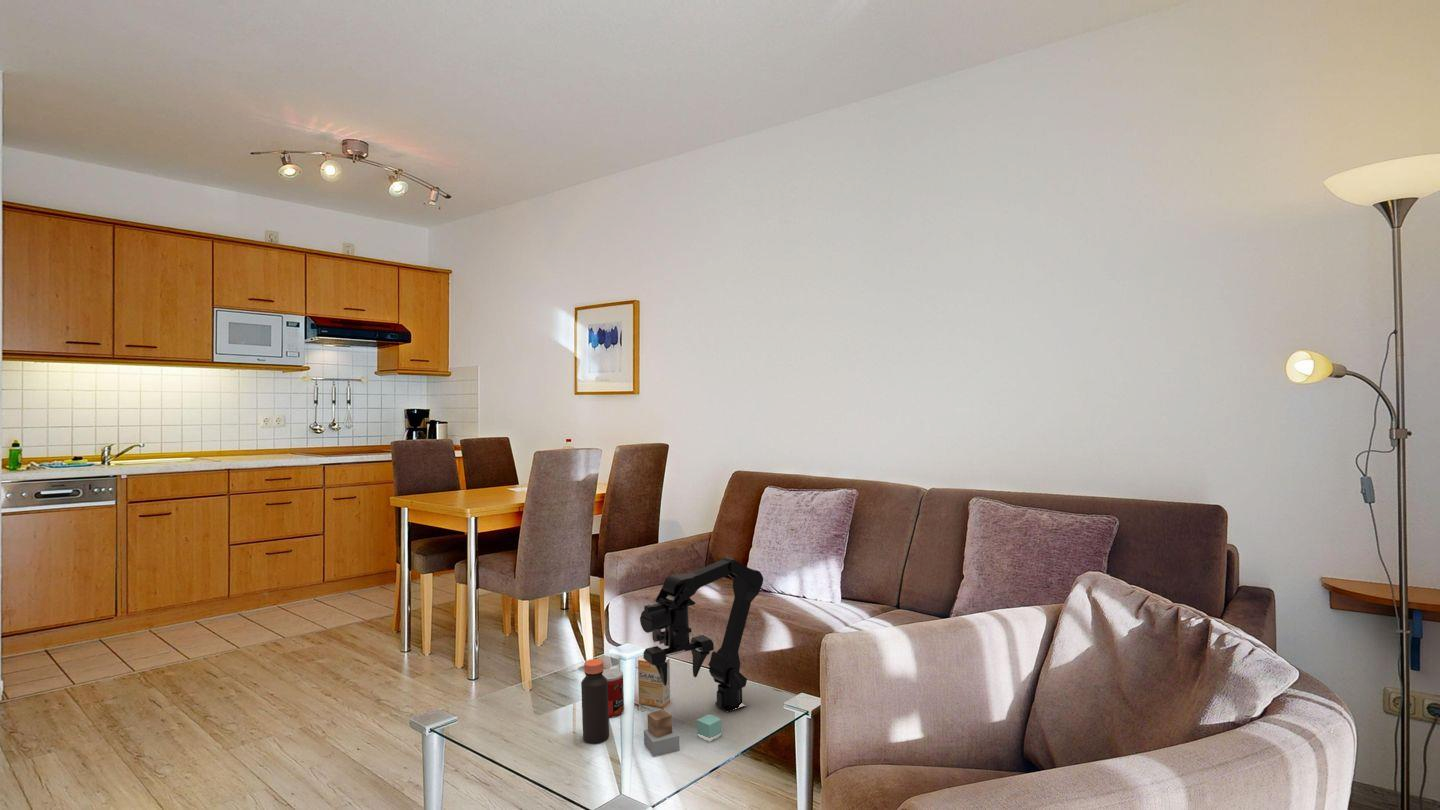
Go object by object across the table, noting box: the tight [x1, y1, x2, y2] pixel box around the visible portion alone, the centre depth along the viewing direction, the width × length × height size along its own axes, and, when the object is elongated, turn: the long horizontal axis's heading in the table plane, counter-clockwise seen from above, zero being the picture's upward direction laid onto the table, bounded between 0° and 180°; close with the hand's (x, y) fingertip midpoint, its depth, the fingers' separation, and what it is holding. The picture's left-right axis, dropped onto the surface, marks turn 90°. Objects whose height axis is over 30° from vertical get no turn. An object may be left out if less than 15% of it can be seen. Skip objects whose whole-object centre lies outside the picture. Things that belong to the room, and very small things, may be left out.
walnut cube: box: [647, 708, 673, 738], centre depth 189 cm, size 4×4×4 cm
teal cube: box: [696, 713, 723, 738], centre depth 194 cm, size 4×4×4 cm
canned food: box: [602, 668, 625, 719], centre depth 209 cm, size 8×8×11 cm
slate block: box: [643, 727, 681, 758], centre depth 189 cm, size 7×7×4 cm
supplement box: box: [637, 654, 671, 709], centre depth 214 cm, size 8×5×13 cm, turn 67°
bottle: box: [580, 658, 610, 744], centre depth 194 cm, size 7×7×20 cm
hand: (680, 680), depth 200 cm, fingers open, 9 cm apart
